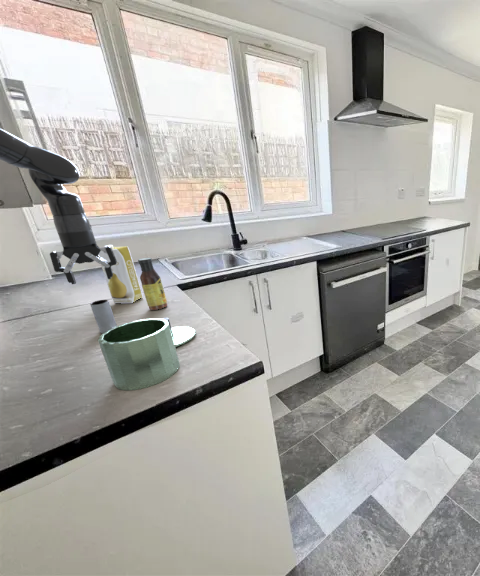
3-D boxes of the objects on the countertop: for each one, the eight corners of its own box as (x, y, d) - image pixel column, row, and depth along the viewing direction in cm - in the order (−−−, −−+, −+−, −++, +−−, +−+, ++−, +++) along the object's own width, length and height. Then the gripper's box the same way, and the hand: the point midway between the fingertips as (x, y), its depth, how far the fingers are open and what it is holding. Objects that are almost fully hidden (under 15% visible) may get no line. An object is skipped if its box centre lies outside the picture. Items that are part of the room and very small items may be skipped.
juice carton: (110, 304, 126) (90, 246, 118) (124, 297, 133) (107, 243, 125) (133, 304, 126) (115, 246, 118) (146, 297, 133) (131, 242, 126)
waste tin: (112, 398, 71) (94, 350, 67) (117, 370, 81) (102, 327, 77) (181, 376, 78) (169, 332, 74) (177, 354, 89) (167, 314, 84)
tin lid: (138, 358, 86) (131, 335, 84) (139, 338, 98) (133, 317, 95) (198, 342, 95) (193, 321, 92) (193, 325, 106) (188, 306, 104)
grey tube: (99, 334, 101) (88, 305, 97) (101, 329, 104) (91, 301, 101) (116, 331, 103) (107, 302, 100) (118, 326, 107) (109, 298, 103)
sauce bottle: (169, 307, 122) (156, 258, 115) (150, 312, 118) (135, 261, 111) (166, 303, 126) (153, 256, 120) (147, 307, 122) (133, 259, 116)
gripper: (37, 233, 86) (58, 288, 91) (104, 228, 93) (120, 279, 99) (44, 230, 91) (64, 282, 97) (106, 226, 99) (122, 274, 105)
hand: (92, 280), depth 98 cm, fingers open, 8 cm apart
